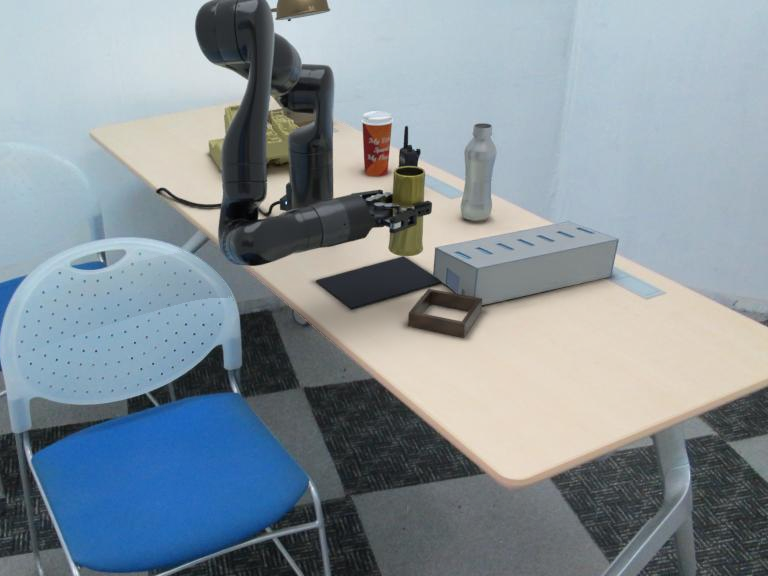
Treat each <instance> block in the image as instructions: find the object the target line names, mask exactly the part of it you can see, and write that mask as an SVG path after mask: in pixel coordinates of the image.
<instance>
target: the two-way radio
mask: <svg viewBox="0 0 768 576" xmlns="http://www.w3.org/2000/svg"><path fill="white" fill-rule="evenodd" d="M421 153H422V151H421V148H416V149H414V148H413V145H412V144H409V126H408V125H405V126H404V131H403V147H400V149H399V152H398V168H399V167H402V166H416V167H419V166H418V165H419V160H420V159H419V158H420V156H421Z"/></svg>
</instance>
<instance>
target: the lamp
mask: <svg viewBox="0 0 768 576" xmlns="http://www.w3.org/2000/svg"><path fill="white" fill-rule="evenodd" d="M271 12H272V13H275V14H276V17H275V21H286V20H287V22H291V21H292V20H293V19H301V18H306V17H311V16H315V15H321V14H325V13H329V12H331V8H330V7H329V3H328V0H277V2H276V7H273V8H271ZM281 110H283V115H284V116H286V117H287V118H289V119H290V120H293V121H294V124H295V125H297V126H298V127H299V128H300V127H303V126H306V125H308V124H310V123H312V122H314V121H315V114H301V113H291V112H287V111H285V110H284V109H283V108H277V109H273V110H269V111H268V121H267V122H268V123H270V124H272V120H271V114H270V112H271V111H272V112H279V111H281ZM278 114H279V115H281V113H274V114H273V115H278Z"/></svg>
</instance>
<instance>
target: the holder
mask: <svg viewBox="0 0 768 576" xmlns="http://www.w3.org/2000/svg"><path fill="white" fill-rule="evenodd" d="M430 305H434V306H440V307H445V308H450V309H456V310H460V311H465V312H467V313H466V314H465V316H464V318H463V319H462V320H456V319H451V318H447V317H442V316H437V315H433V314H426V313H425V311H426V310H427V309H428V308H429V306H430ZM482 306H483V305H482V299H481V298H476V297H471V296H465V295H460V294H457V293H456V292H455V293H454V292H449V291H444V290H440V289H439V290H438V289H433V288H428V289H427V290H426V291H425V292H424V293H423V294H422V296H420V298H419V299H418V301H417V302H416V303H415V304H414V305H413V307H412V308H411V309H410V310H409V312H408V319H407V321H408V322H407V326H408V327H411V328H416V329H420V330H426V331H431V332H434V333H439V334H444V335H450V336H454V337H459V338H465V337H466V335H467V334H468V332H469V331H470V329H471V328H472V326H473V325H474V323H475V322H476V320H477V319H478V318H479V315H480V314H481V312H482V309H483V308H482Z"/></svg>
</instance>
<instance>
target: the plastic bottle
mask: <svg viewBox="0 0 768 576" xmlns="http://www.w3.org/2000/svg"><path fill="white" fill-rule="evenodd" d="M492 136H493V125H492V124H490V123H486V122H482V123H481V122H480V123H475V124H474V125H473V131H472V138H471V139H470V141H468V143H467V144H466V146H465V148H464V166H465V168H464V169H465V178H464V188H463V194H462V198H461V201H460V206H459V207H460V214H461V216H462V217H463V218H464V219H466V220H468V221H473V222H481V221H485V220H487V219H488V218H489V217H490V216H491V214H492V210H493V201H492V181H493V179H492V177H493V173H494V167H495V163H496V159H497V153H498V152H497V146H496V144H495V143H494V141H493V140H492V138H491V137H492Z"/></svg>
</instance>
